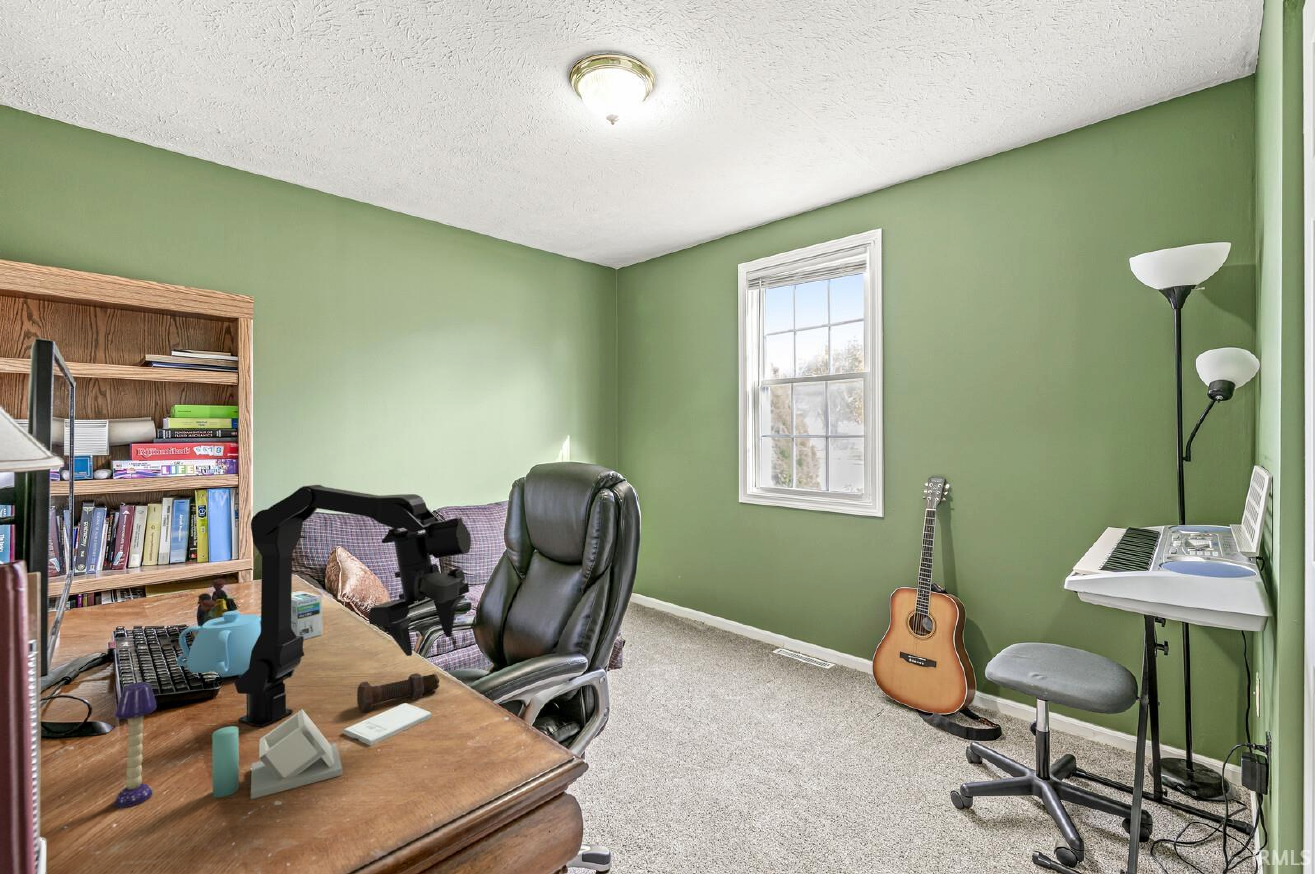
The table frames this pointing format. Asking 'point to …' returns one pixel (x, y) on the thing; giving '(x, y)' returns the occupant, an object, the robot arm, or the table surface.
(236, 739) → the dowel
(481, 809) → the table surface
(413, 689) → the bolt
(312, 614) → the light bulb box
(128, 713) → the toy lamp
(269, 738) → the socket
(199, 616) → the doll family
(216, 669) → the light blue teapot
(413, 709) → the external hard drive
